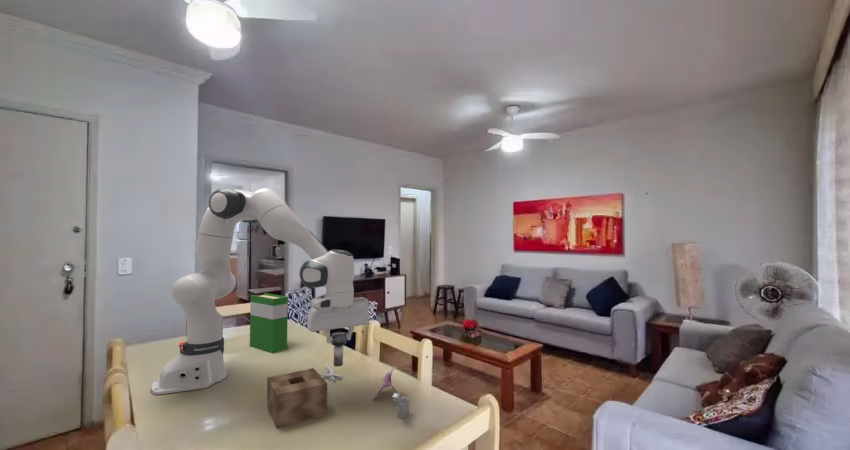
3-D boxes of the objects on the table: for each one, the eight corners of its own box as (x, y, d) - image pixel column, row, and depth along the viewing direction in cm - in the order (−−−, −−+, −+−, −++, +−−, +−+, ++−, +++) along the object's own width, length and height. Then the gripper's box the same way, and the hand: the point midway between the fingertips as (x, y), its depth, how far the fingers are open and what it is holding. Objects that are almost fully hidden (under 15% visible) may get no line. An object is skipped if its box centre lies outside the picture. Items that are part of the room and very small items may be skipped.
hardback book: (249, 346, 166) (250, 295, 166) (264, 342, 172) (265, 293, 172) (272, 353, 156) (273, 299, 157) (287, 349, 162) (287, 296, 163)
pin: (333, 368, 113) (334, 337, 113) (328, 363, 117) (329, 333, 117) (347, 365, 115) (348, 334, 116) (342, 361, 119) (343, 331, 120)
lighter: (404, 411, 106) (404, 384, 106) (409, 413, 105) (409, 386, 105) (391, 423, 99) (391, 394, 100) (397, 424, 99) (397, 395, 99)
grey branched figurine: (326, 363, 141) (349, 373, 131) (326, 367, 141) (349, 378, 131) (303, 371, 134) (326, 382, 124) (303, 375, 134) (326, 386, 124)
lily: (391, 387, 125) (378, 364, 124) (416, 381, 119) (402, 357, 118) (372, 413, 114) (358, 387, 114) (399, 408, 109) (384, 381, 108)
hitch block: (276, 428, 97) (277, 394, 97) (266, 407, 108) (267, 377, 108) (327, 413, 104) (327, 383, 105) (312, 395, 116) (313, 368, 116)
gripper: (365, 295, 125) (364, 334, 125) (306, 300, 113) (304, 343, 113) (372, 298, 120) (371, 339, 119) (311, 303, 108) (310, 349, 108)
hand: (338, 341), depth 116 cm, fingers closed on pin, 5 cm apart
